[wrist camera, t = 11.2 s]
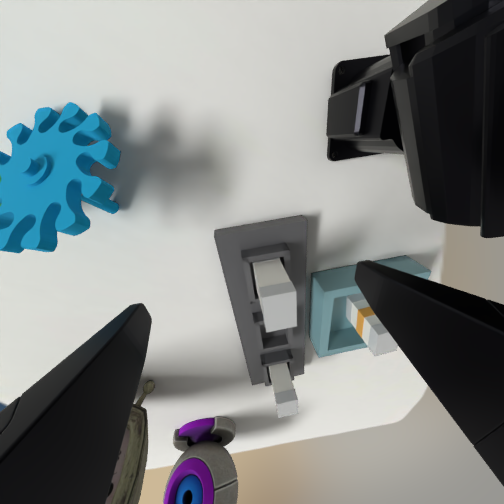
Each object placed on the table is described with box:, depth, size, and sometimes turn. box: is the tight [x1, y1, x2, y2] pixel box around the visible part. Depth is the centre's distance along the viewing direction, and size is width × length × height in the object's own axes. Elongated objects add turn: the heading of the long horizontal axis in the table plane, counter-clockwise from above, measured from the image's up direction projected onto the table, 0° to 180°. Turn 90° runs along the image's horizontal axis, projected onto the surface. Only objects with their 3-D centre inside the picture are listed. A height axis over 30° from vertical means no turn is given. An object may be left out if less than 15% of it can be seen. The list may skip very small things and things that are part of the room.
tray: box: [309, 255, 431, 357], centre depth 26 cm, size 12×12×4 cm
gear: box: [0, 102, 121, 253], centre depth 14 cm, size 11×6×10 cm
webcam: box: [163, 417, 238, 504], centre depth 35 cm, size 13×13×15 cm
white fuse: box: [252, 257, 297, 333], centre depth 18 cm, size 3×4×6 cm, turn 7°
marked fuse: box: [346, 293, 398, 356], centre depth 24 cm, size 3×4×6 cm, turn 13°
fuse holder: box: [214, 215, 307, 386], centre depth 25 cm, size 9×28×3 cm, turn 8°
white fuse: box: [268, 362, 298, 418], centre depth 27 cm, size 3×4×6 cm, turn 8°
